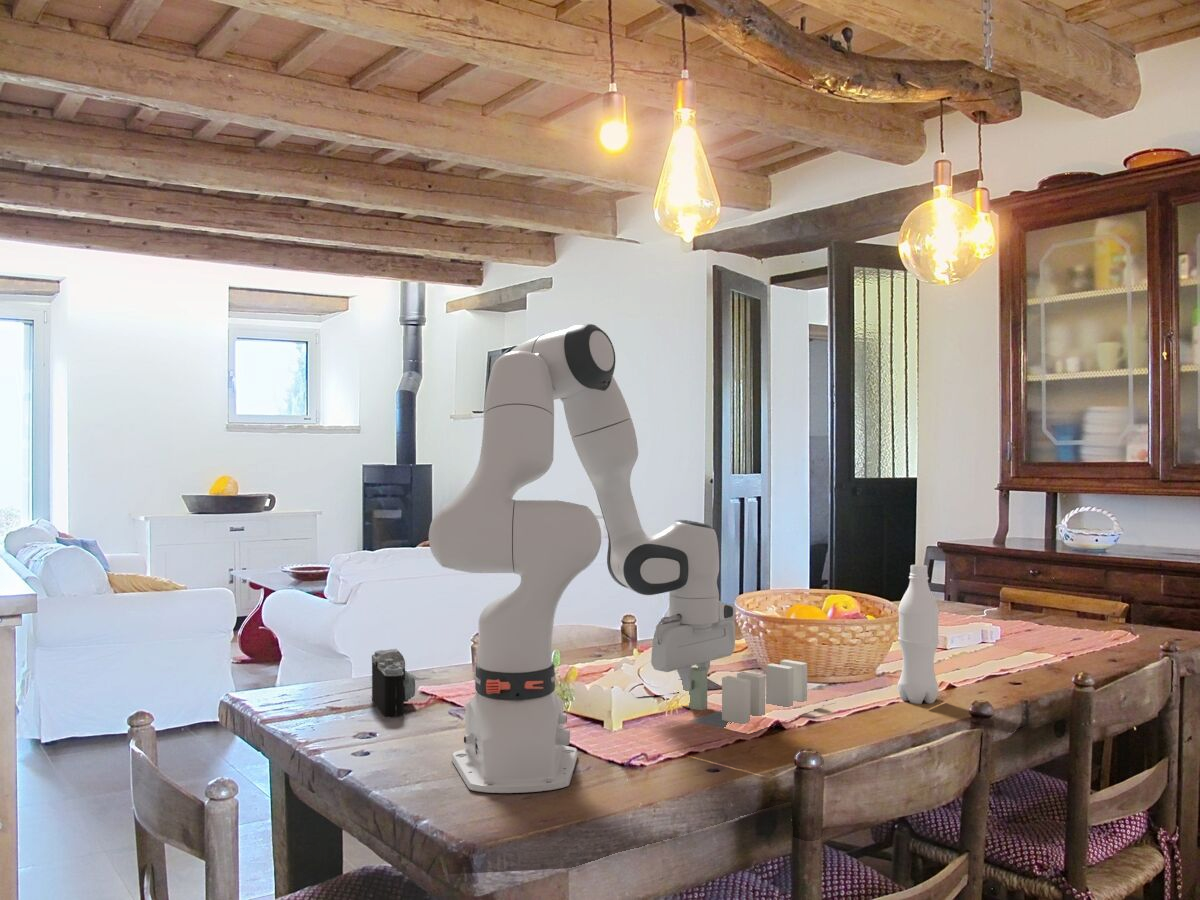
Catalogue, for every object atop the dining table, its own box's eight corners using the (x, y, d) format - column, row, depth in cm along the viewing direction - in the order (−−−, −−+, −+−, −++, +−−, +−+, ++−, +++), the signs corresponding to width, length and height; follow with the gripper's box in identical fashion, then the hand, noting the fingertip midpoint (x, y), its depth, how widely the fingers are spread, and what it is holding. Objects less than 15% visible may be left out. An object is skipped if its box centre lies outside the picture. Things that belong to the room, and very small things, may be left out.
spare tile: (701, 712, 184) (701, 671, 183) (680, 707, 187) (680, 667, 187) (707, 710, 185) (707, 669, 185) (686, 705, 188) (686, 665, 188)
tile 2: (759, 719, 178) (759, 677, 178) (736, 714, 181) (737, 673, 181) (765, 717, 179) (765, 675, 179) (742, 712, 182) (743, 671, 182)
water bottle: (940, 699, 193) (941, 564, 192) (935, 708, 186) (936, 569, 186) (900, 694, 196) (901, 562, 196) (894, 703, 189) (895, 566, 189)
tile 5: (801, 704, 188) (801, 664, 187) (780, 700, 191) (780, 660, 191) (807, 702, 189) (807, 663, 189) (785, 698, 192) (785, 659, 192)
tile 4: (787, 709, 184) (788, 668, 184) (766, 704, 187) (766, 664, 187) (793, 707, 186) (793, 667, 185) (771, 702, 189) (771, 663, 189)
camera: (423, 715, 182) (423, 658, 181) (384, 719, 179) (384, 661, 179) (405, 695, 195) (405, 642, 195) (369, 698, 193) (369, 644, 192)
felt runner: (748, 736, 169) (748, 734, 169) (689, 722, 177) (689, 720, 177) (836, 703, 189) (836, 702, 189) (780, 692, 198) (780, 690, 198)
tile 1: (744, 725, 174) (744, 682, 174) (721, 719, 177) (722, 677, 177) (750, 722, 176) (750, 680, 176) (728, 717, 179) (728, 676, 179)
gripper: (671, 620, 176) (671, 702, 176) (741, 606, 191) (741, 681, 191) (642, 616, 180) (642, 696, 180) (713, 602, 195) (713, 676, 195)
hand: (693, 688), depth 186 cm, fingers closed on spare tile, 2 cm apart
